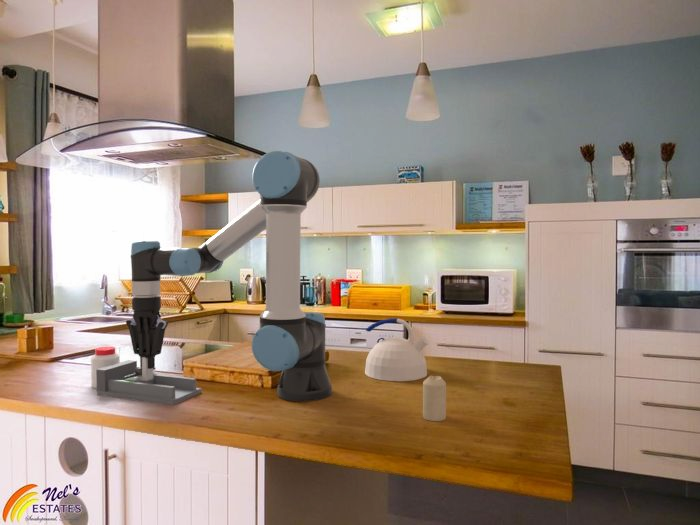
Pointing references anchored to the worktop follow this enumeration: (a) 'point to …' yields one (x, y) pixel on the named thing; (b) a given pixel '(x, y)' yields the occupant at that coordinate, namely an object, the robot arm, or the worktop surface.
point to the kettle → (396, 356)
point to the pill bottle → (102, 361)
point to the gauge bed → (143, 385)
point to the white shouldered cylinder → (434, 399)
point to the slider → (139, 376)
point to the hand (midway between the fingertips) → (147, 379)
